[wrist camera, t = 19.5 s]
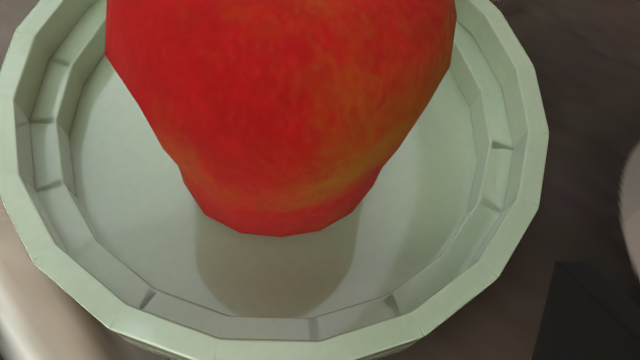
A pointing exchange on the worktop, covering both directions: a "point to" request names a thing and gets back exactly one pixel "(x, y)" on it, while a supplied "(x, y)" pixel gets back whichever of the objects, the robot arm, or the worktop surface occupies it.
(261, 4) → the apple
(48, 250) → the bowl
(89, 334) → the worktop surface
